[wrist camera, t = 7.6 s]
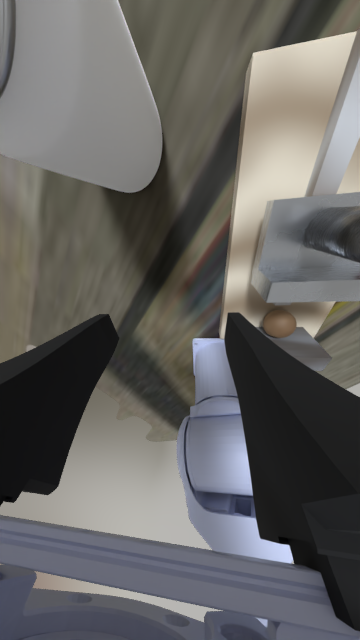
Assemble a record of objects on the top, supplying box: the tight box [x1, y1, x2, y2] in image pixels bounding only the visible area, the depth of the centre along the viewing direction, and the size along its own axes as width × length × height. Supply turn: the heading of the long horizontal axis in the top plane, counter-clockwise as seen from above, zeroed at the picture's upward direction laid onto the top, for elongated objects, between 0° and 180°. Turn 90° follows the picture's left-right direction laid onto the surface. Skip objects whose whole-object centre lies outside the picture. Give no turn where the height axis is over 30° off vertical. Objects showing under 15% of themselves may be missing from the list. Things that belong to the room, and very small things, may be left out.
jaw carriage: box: [251, 192, 360, 303], centre depth 9 cm, size 6×8×7 cm
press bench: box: [219, 28, 360, 371], centre depth 13 cm, size 22×12×6 cm, turn 4°
